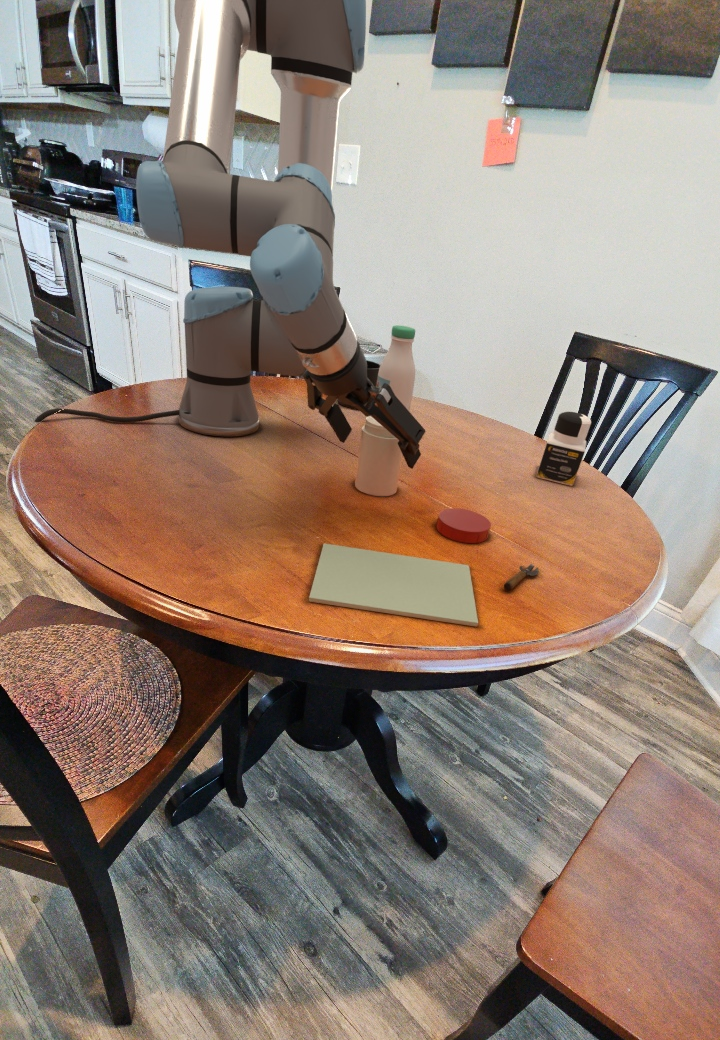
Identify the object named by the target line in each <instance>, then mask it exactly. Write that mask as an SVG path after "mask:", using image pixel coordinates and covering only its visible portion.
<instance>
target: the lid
mask: <svg viewBox="0 0 720 1040" xmlns="http://www.w3.org/2000/svg"><path fill="white" fill-rule="evenodd" d="M491 526H492V523H491V521H490V520H489V519H488V518H487V517H486V516H484V515H482V514H480V513H478V512H476V511H472V510H470V509H469V510H468V509H464V508H457V507H455V508H452V507H451V508H445V509H442V510H441V511H440V512H439V513H438V516H437V519H436V524H435V527H436V530H437V531H438V533H439V534H441V535H442V536H443V537H445V538H447V539H449V540H451V541H455V542H459V543H463V544H480V543H483V542H484V541H487V539H488V538H489V537H488V536H489V534H490V530H491Z"/></svg>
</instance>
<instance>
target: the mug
mask: <svg viewBox="0 0 720 1040" xmlns="http://www.w3.org/2000/svg"><path fill="white" fill-rule="evenodd" d="M366 361H367V378H368V379H369V380H370V381H371V383H372V384H373V385H374V387H376V384H377V378H378V372H379V368H380V365H381V363H378V362H375V361H371V360H369V359H368V360H367V359H366ZM373 399H374V398H373V397H370V399H369V400H368V402H367V404H366V405H365V407H366V408H368V407H369V406H370V404H371V402H372V401H373ZM337 404H338V405H341V406H343V407H345V408H348V409H352V410H358V409H357V408H356V407H354V406H351V405H347V404H344V403H343V402H342V401H340V400H339V399H337Z"/></svg>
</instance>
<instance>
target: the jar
mask: <svg viewBox="0 0 720 1040" xmlns="http://www.w3.org/2000/svg"><path fill="white" fill-rule="evenodd" d="M398 442H399V440H398V439H397V438H396V437H395V436H393V435H392V434H391V433H390V432H389V431H388V430H387V429H385V428H384V427H383V426H382V425H381V424H380V423H378V422H377V421H376V420H375V419H374V418H373V417H371V416H368V417H367V416H365V421H364V425H363V426H362V428H361V433H360V441H359V448H358V456H357V464H356V472H355V479H354V487H355V489H357V491H359V492H361V493H364V494H367V495H369V496H375V497H389V496H393V495H395V494H396V493H397V491H398V486H399V480H400V475H401V468H402V463H403V458H404V456H403V454H402V452H401V450H400V448H399V446H398Z"/></svg>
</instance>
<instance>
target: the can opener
mask: <svg viewBox="0 0 720 1040" xmlns="http://www.w3.org/2000/svg"><path fill="white" fill-rule="evenodd" d="M534 568H535V564H532V563H530V564H529V565H528V566H527V568H525V569H524V565H523V566H522V565H520V566H519V570H520V571H518V573H516V574H515V575H514V576H512V577H511V578H509V579H508V580H507V581H506V582H505V583H504V584H503V588H504V590H505V591H510V590H512V589H513V588H515V587H516V586H517V585H518V584H519V583H520V582H521V581H522V580H524V579H525V578H526V576H527V575H528V576H532V577H534V576H537V575H538V574H539V573H540V570H539V567H536V568H535V569H534Z"/></svg>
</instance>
